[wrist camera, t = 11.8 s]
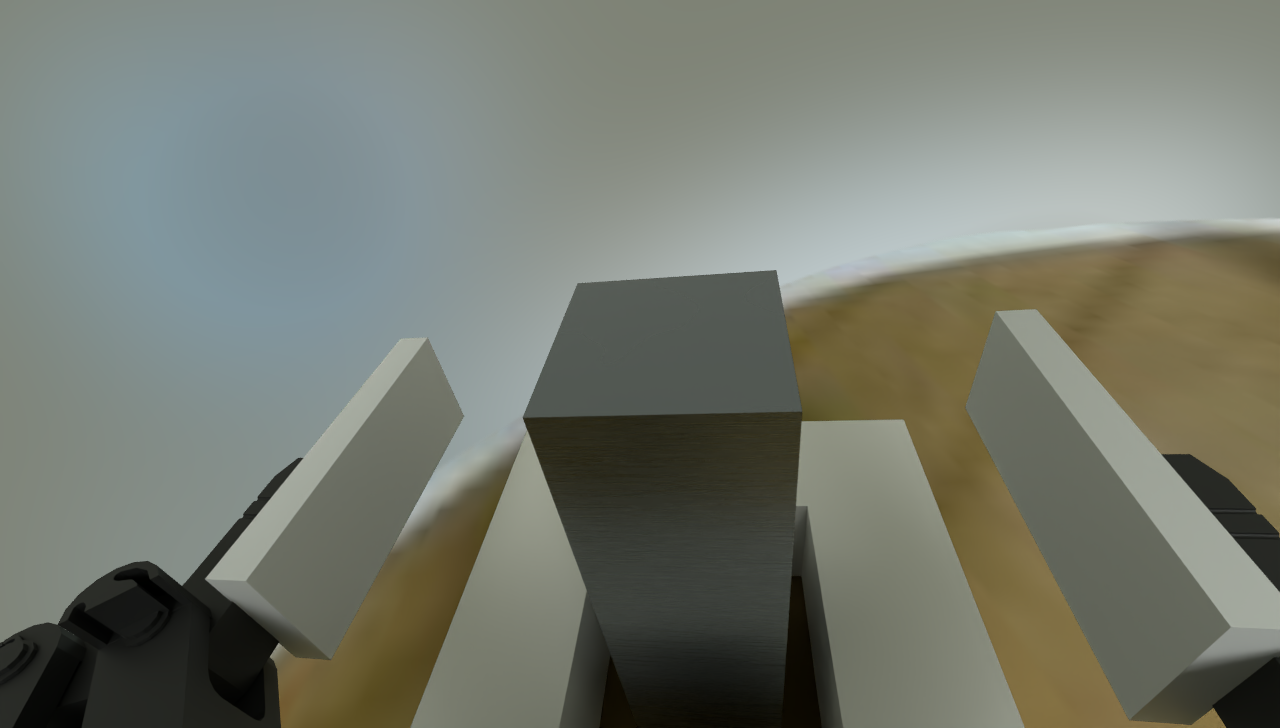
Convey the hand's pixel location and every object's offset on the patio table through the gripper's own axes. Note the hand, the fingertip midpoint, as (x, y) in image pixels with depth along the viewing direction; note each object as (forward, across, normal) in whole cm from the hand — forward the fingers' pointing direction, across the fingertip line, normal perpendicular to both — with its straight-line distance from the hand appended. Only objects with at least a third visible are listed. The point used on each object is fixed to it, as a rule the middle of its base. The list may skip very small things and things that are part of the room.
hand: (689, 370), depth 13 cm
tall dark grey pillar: (-3, 0, -10) cm, 10 cm away
